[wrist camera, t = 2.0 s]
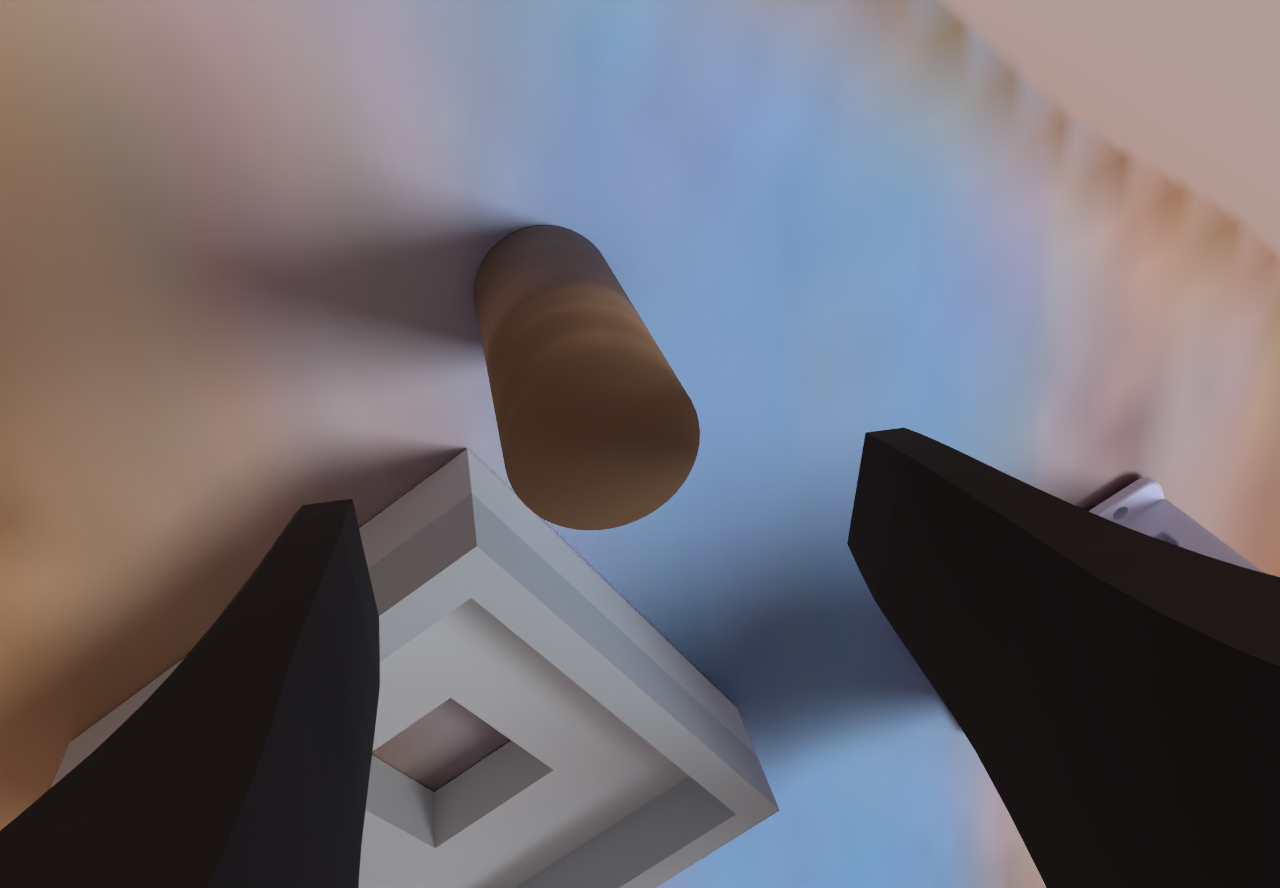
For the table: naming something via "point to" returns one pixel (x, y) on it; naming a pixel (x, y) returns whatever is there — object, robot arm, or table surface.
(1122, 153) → the table surface
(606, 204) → the table surface
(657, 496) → the walnut peg
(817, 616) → the table surface
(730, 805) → the slate box
